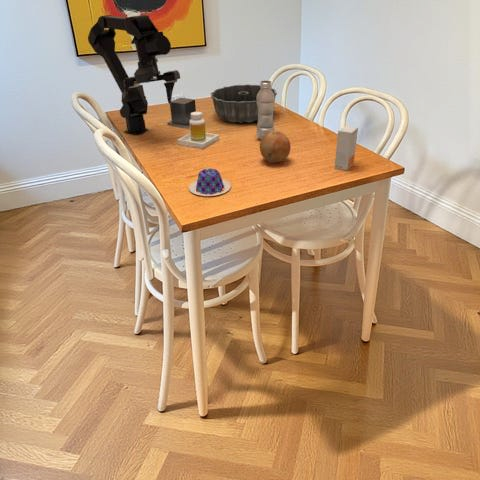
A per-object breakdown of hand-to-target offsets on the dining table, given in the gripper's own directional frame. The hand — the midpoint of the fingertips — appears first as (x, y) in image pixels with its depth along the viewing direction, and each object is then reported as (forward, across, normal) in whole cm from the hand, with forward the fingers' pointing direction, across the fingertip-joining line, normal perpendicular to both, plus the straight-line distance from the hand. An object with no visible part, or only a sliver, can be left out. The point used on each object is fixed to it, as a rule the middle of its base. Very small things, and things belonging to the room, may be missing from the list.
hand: (157, 104), depth 159 cm
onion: (+20, +41, -12) cm, 47 cm away
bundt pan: (+14, +22, +33) cm, 42 cm away
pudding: (+20, +25, -34) cm, 47 cm away
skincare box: (+24, +62, -13) cm, 68 cm away
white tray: (+15, +12, +1) cm, 19 cm away
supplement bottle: (+14, +12, +1) cm, 19 cm away
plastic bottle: (+18, +35, +8) cm, 40 cm away
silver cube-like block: (+11, +1, +21) cm, 23 cm away
